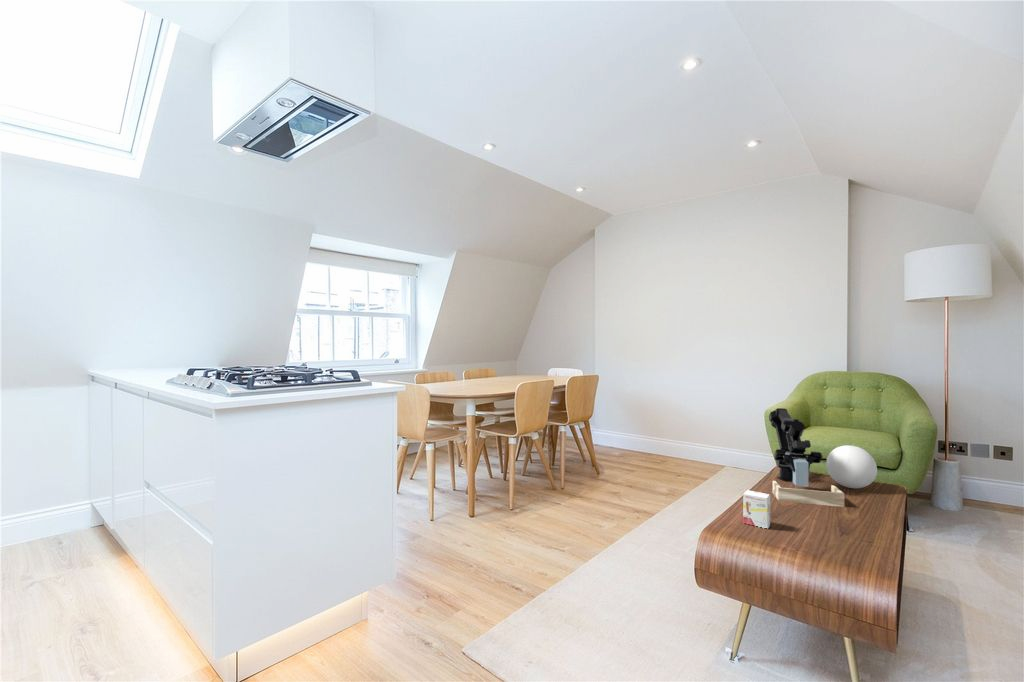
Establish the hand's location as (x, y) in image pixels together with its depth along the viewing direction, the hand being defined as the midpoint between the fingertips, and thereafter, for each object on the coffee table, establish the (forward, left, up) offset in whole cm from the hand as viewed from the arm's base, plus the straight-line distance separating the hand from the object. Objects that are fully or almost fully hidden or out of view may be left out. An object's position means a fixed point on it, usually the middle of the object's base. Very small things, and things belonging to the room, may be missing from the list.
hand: (801, 472), depth 212 cm
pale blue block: (-1, +1, -6) cm, 6 cm away
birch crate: (+8, -3, -10) cm, 13 cm away
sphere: (-8, +32, -10) cm, 35 cm away
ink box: (+32, -42, -11) cm, 54 cm away
